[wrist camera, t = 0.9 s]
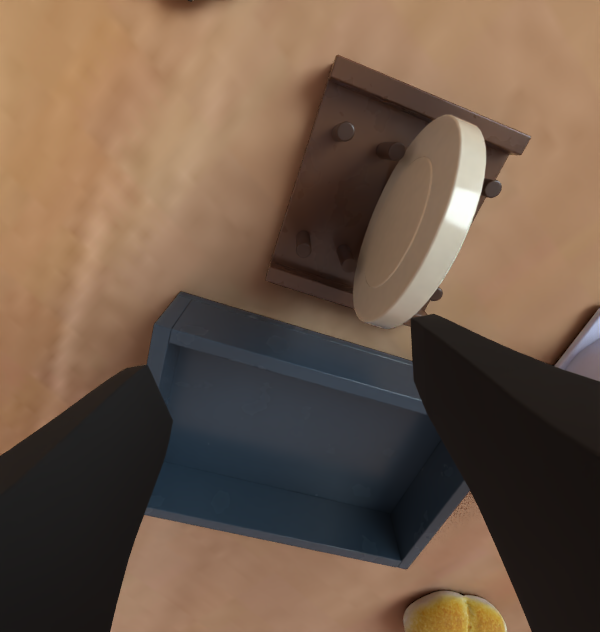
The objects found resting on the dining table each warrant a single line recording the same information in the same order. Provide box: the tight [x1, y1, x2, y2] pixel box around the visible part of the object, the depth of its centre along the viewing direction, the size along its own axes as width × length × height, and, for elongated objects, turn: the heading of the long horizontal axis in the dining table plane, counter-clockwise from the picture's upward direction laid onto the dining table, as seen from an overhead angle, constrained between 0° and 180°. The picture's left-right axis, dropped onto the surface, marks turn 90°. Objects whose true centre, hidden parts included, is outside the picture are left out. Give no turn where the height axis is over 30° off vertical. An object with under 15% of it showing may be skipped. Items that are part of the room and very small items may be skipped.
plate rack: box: [265, 55, 531, 327], centre depth 17 cm, size 9×10×3 cm
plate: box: [353, 115, 486, 329], centre depth 14 cm, size 1×8×8 cm, turn 161°
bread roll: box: [403, 591, 507, 632], centre depth 33 cm, size 8×9×4 cm
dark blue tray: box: [144, 291, 470, 569], centre depth 22 cm, size 20×14×4 cm
